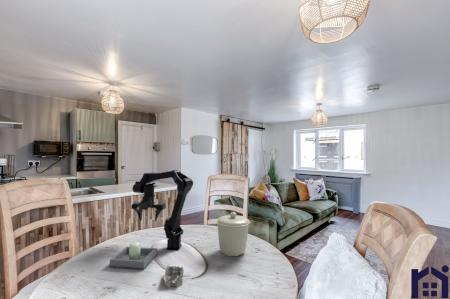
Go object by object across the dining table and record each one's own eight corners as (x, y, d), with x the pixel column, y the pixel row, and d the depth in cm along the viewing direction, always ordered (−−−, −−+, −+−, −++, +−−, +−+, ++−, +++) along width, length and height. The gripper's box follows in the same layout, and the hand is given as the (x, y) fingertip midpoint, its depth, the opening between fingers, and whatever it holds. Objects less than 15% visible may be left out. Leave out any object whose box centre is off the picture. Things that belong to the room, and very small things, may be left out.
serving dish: (156, 255, 110) (156, 248, 110) (143, 269, 96) (144, 261, 96) (126, 253, 112) (126, 246, 112) (109, 267, 98) (109, 259, 98)
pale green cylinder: (142, 257, 106) (142, 242, 106) (137, 262, 101) (137, 247, 101) (132, 256, 107) (132, 242, 107) (126, 261, 102) (127, 246, 102)
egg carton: (182, 288, 84) (182, 277, 84) (162, 288, 84) (162, 278, 84) (184, 272, 95) (184, 263, 95) (166, 273, 94) (167, 264, 94)
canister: (231, 264, 103) (232, 219, 104) (208, 250, 117) (209, 211, 117) (256, 253, 115) (257, 213, 115) (233, 242, 129) (233, 206, 129)
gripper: (126, 196, 121) (125, 224, 120) (159, 197, 119) (158, 226, 119) (136, 192, 132) (135, 218, 131) (166, 193, 130) (165, 220, 130)
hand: (148, 220), depth 128 cm, fingers open, 9 cm apart
